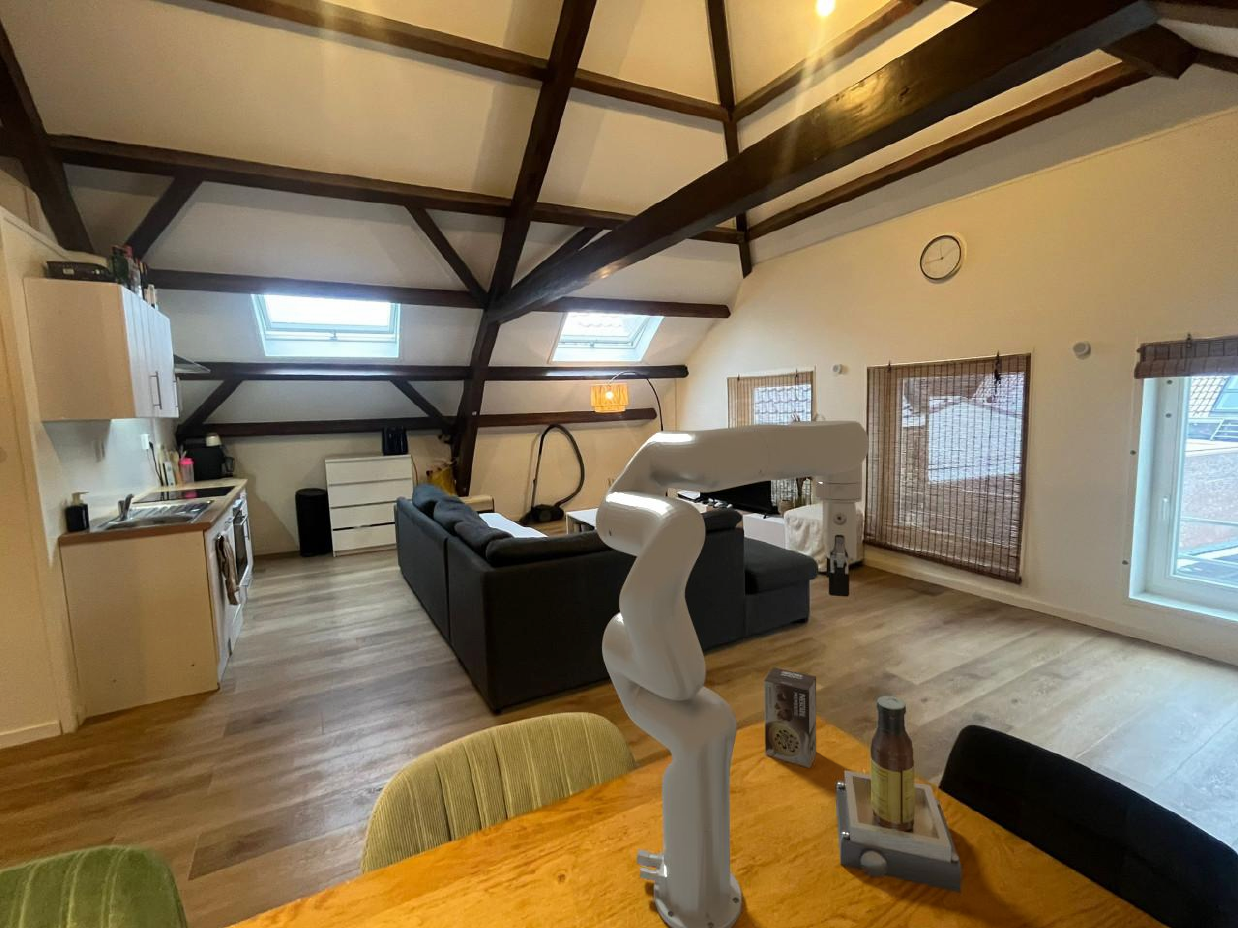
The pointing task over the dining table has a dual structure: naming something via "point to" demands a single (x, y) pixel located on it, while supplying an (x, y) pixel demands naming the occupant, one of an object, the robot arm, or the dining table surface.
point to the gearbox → (895, 837)
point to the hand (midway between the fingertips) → (837, 586)
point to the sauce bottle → (892, 767)
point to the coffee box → (790, 716)
